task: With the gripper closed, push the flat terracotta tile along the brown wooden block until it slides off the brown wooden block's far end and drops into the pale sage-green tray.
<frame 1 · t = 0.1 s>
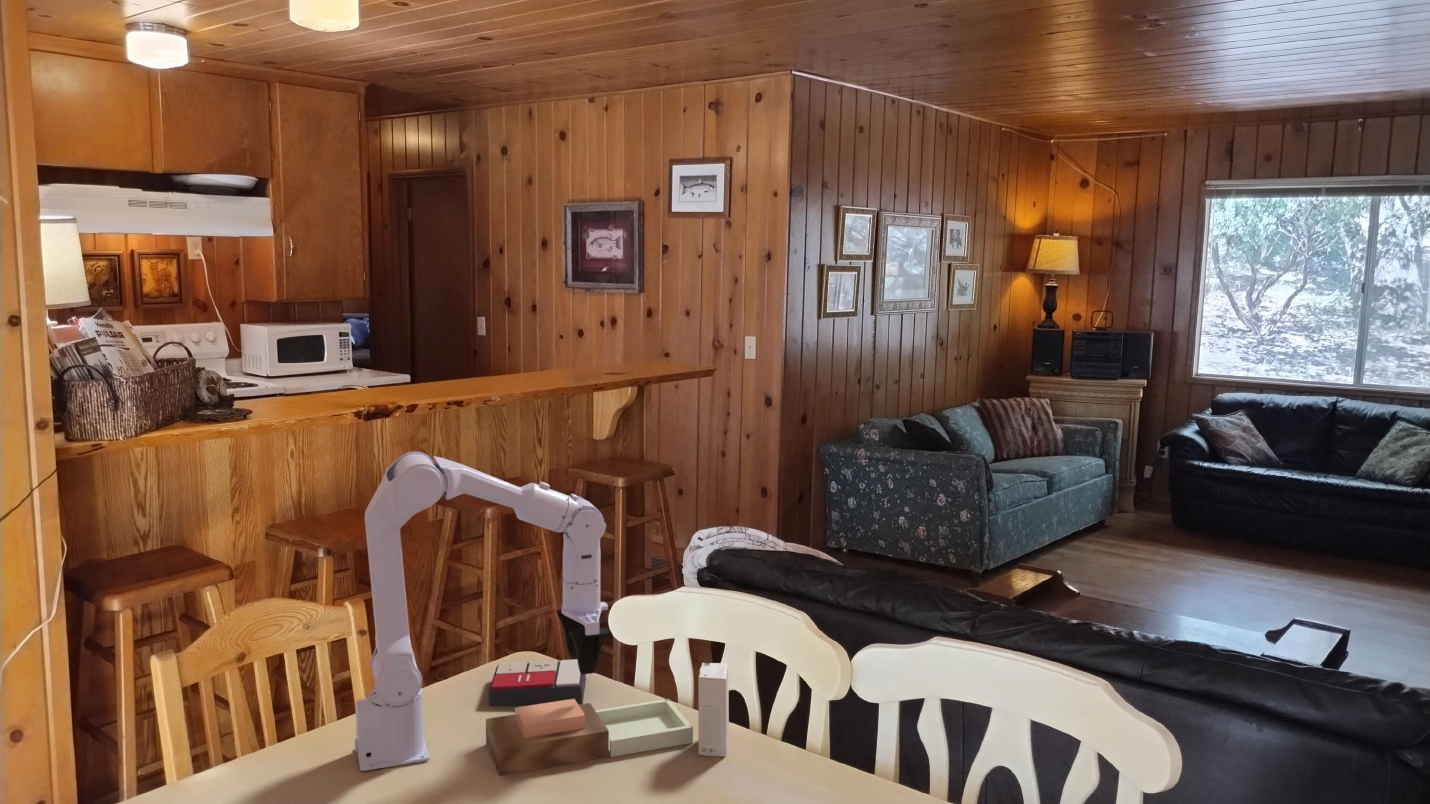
hand: (581, 663, 162), 10 cm above the table, tool pointing down, fingers open, 7 cm apart
brown wooden block: (546, 750, 155), on the table
tile: (549, 724, 155), point 4 cm above the table, touching brown wooden block
skincare box: (712, 747, 158), on the table
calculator: (538, 694, 176), on the table
tray: (638, 734, 161), on the table
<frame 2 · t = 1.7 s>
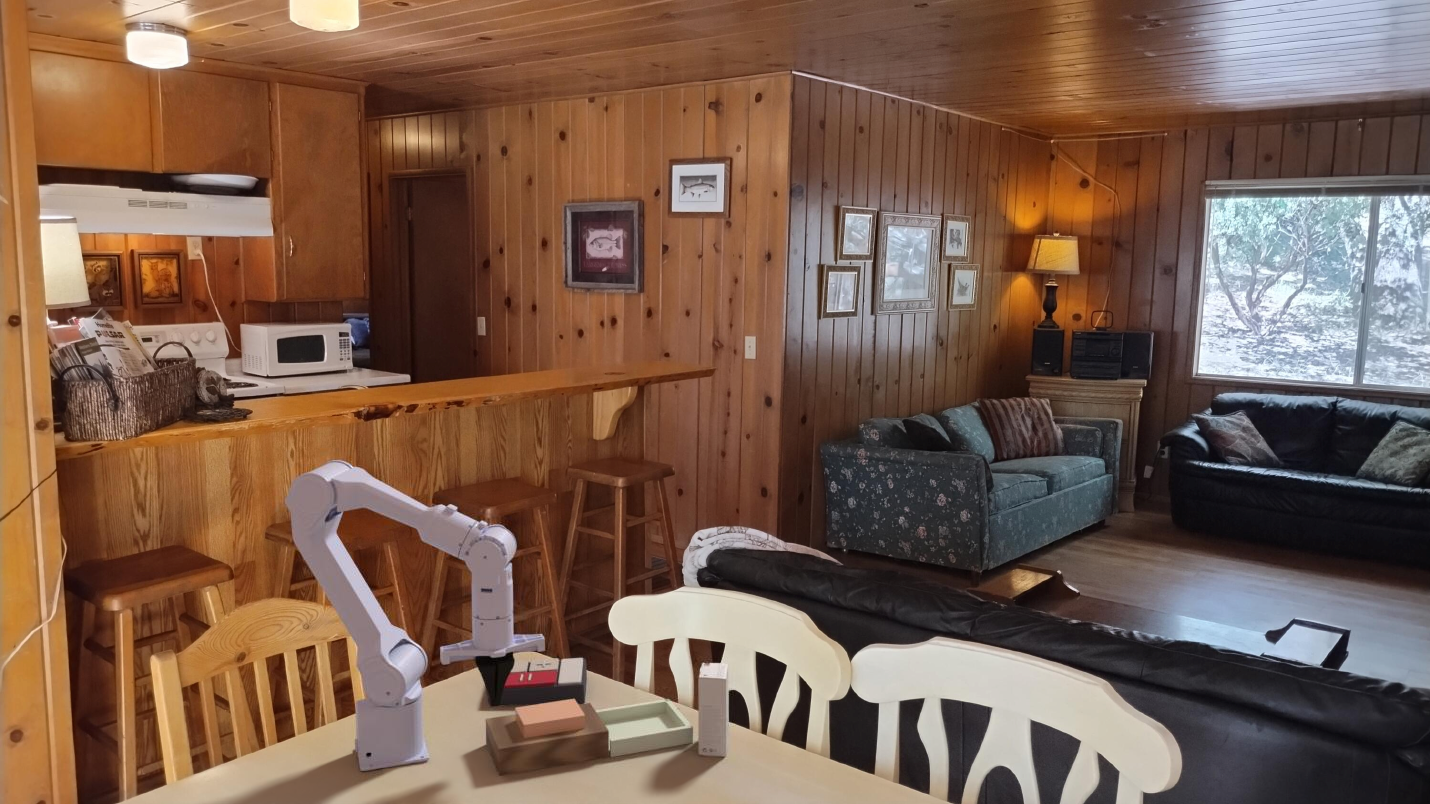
hand: (494, 703, 151), 9 cm above the table, tool pointing down, fingers closed
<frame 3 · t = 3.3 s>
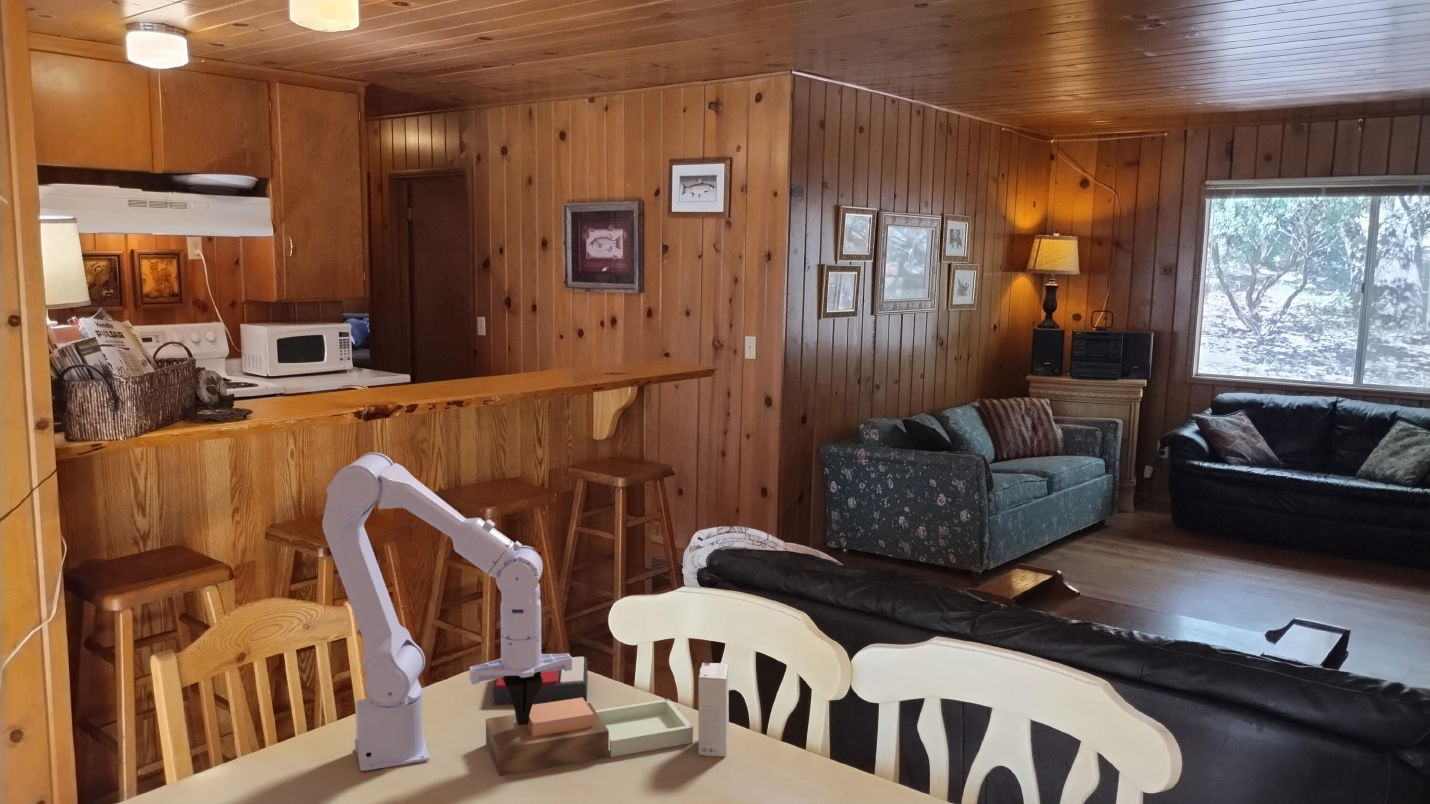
hand: (522, 721, 153), 5 cm above the table, tool pointing down, fingers closed
tile: (558, 722, 155), point 4 cm above the table, touching gripper
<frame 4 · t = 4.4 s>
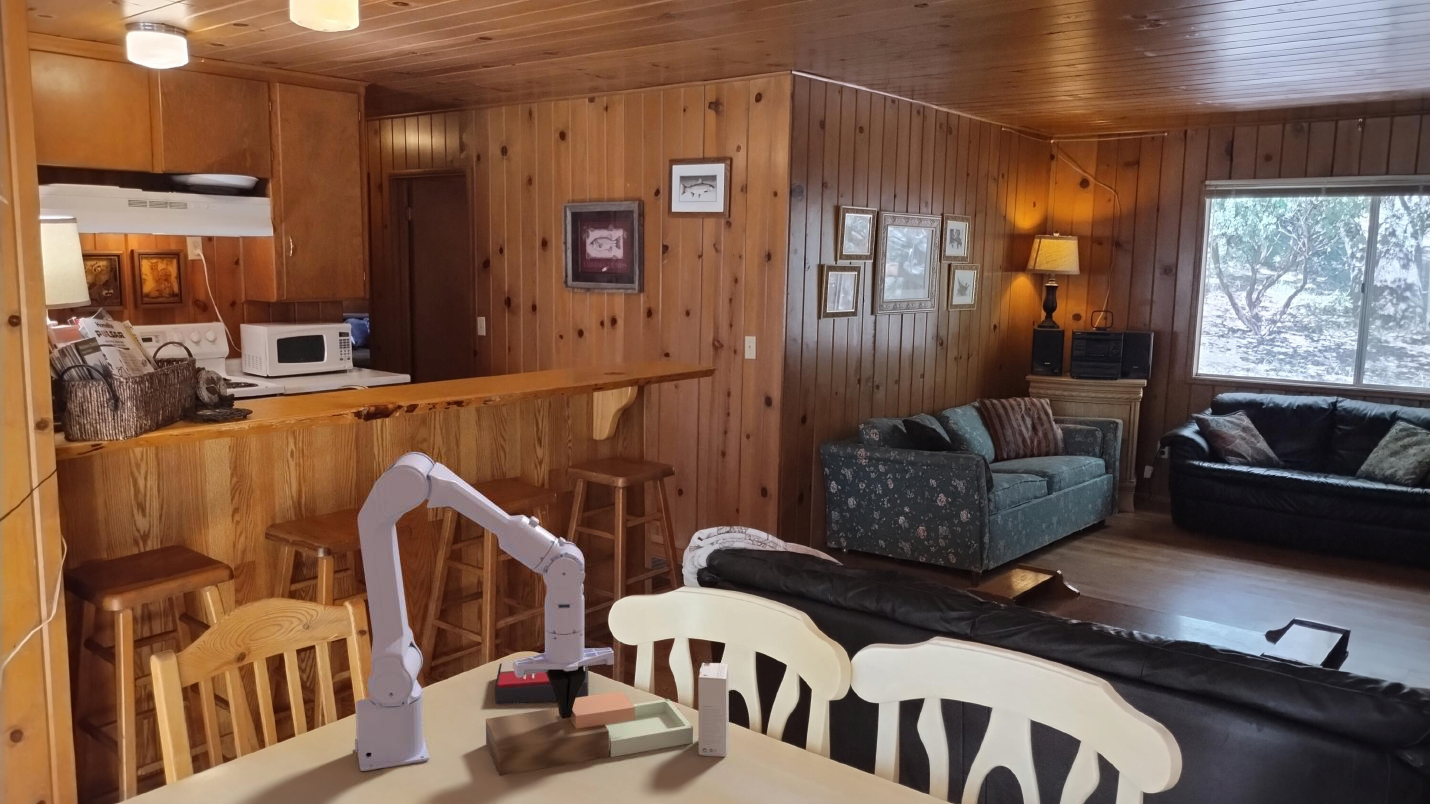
hand: (564, 715, 156), 5 cm above the table, tool pointing down, fingers closed
tile: (599, 715, 158), point 4 cm above the table, touching gripper
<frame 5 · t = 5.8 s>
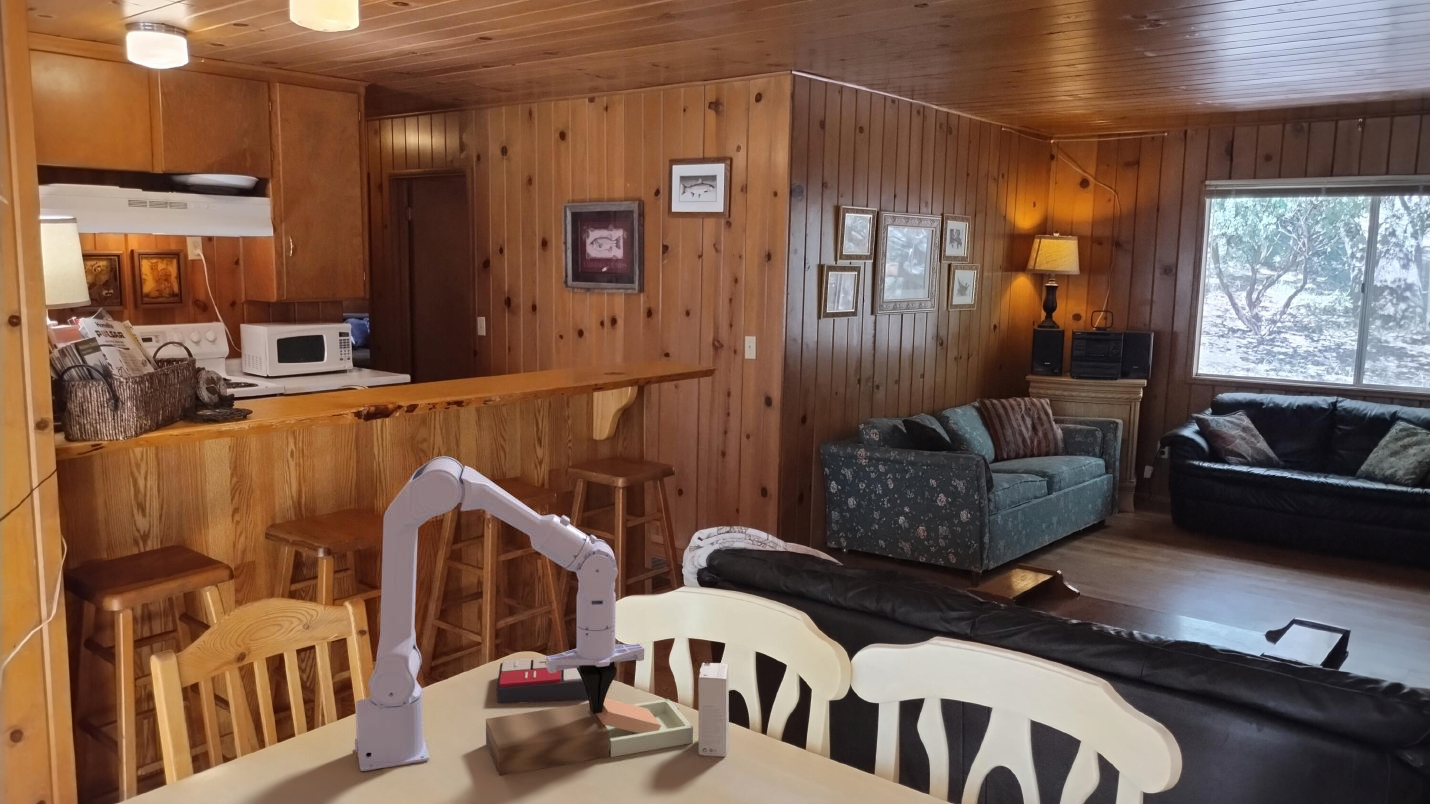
hand: (595, 710, 157), 5 cm above the table, tool pointing down, fingers closed
tile: (623, 722, 160), point 2 cm above the table, tilted 23°, touching brown wooden block, gripper, tray
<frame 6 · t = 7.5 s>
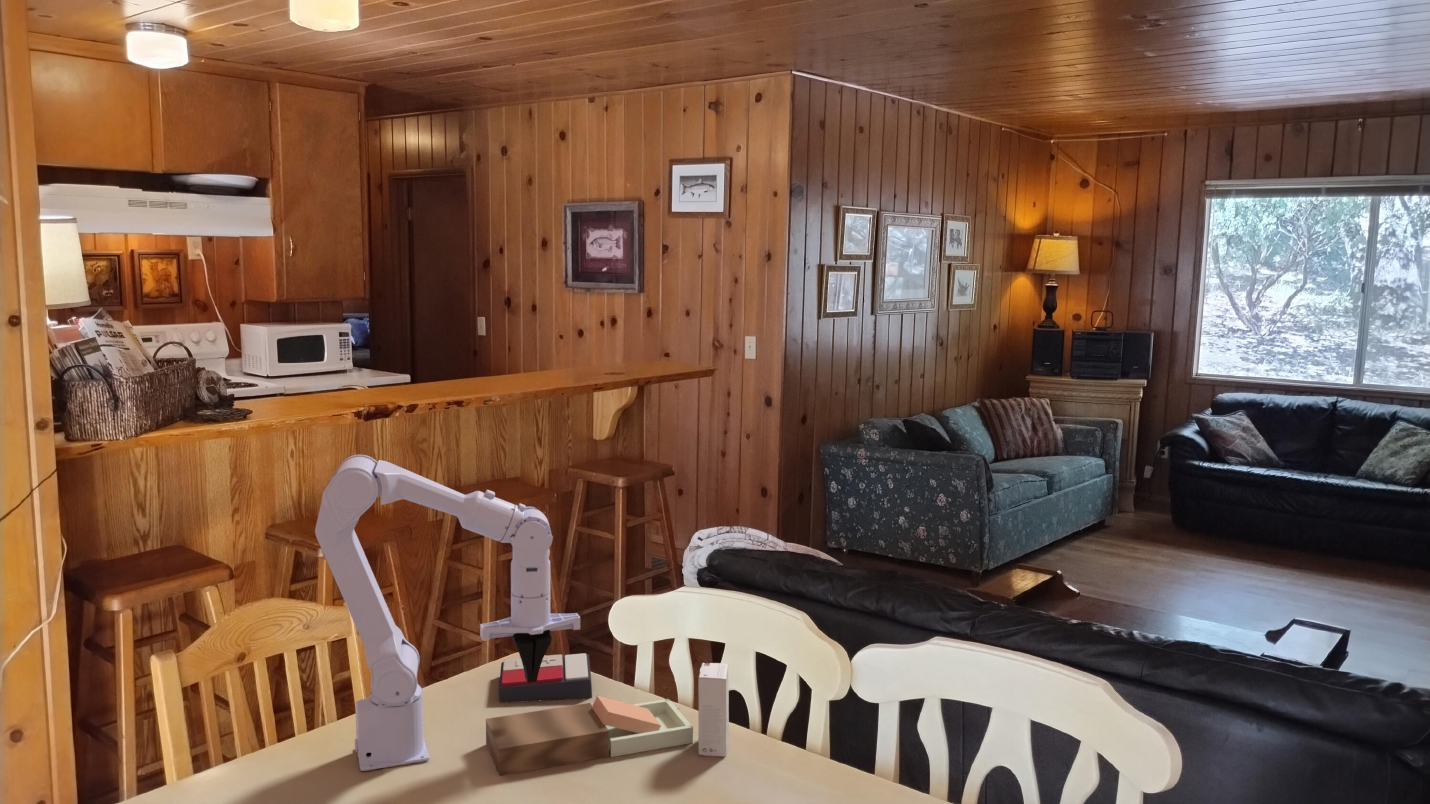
hand: (531, 679, 156), 10 cm above the table, tool pointing down, fingers closed
tile: (623, 722, 160), point 2 cm above the table, tilted 23°, touching brown wooden block, tray
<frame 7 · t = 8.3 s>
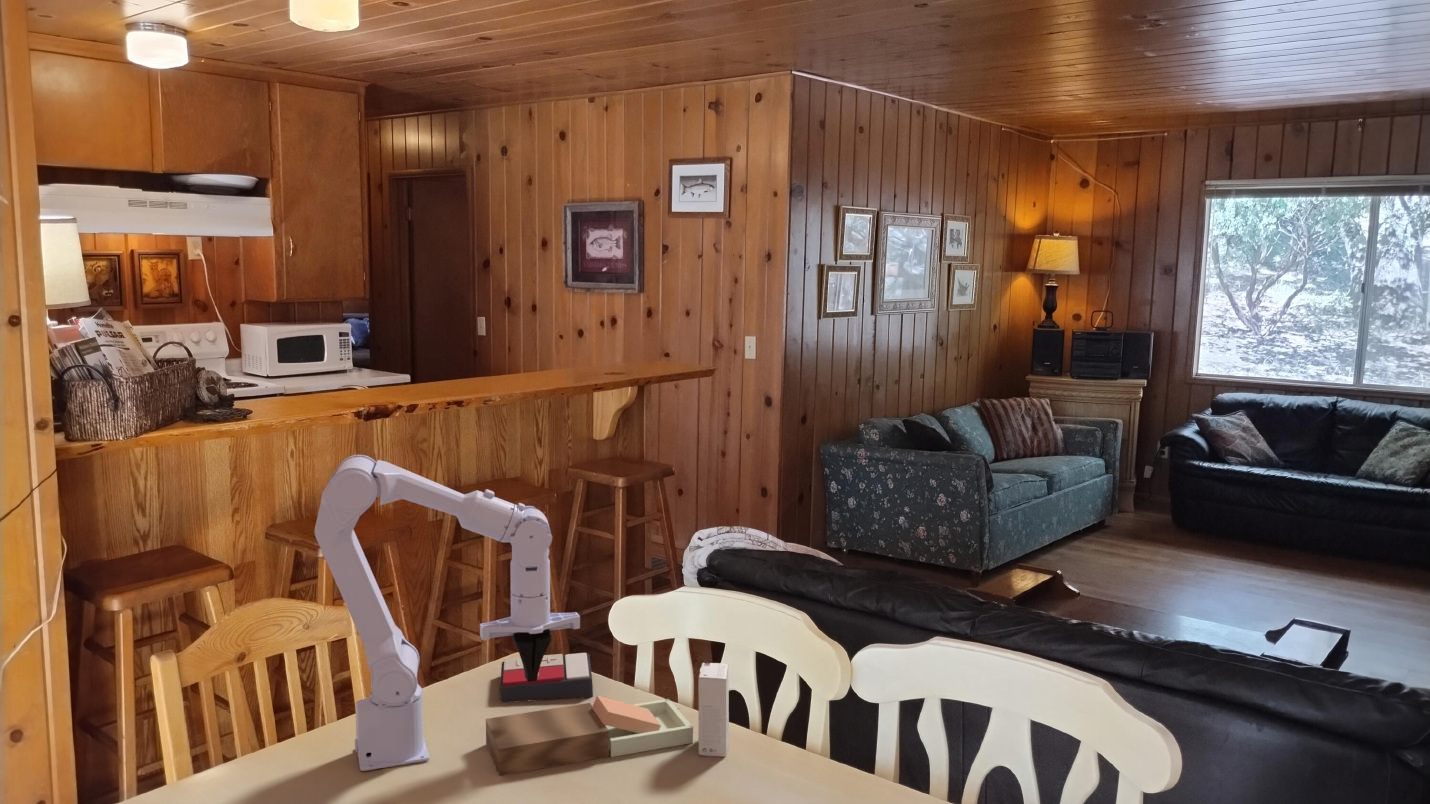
hand: (531, 678, 157), 10 cm above the table, tool pointing down, fingers closed
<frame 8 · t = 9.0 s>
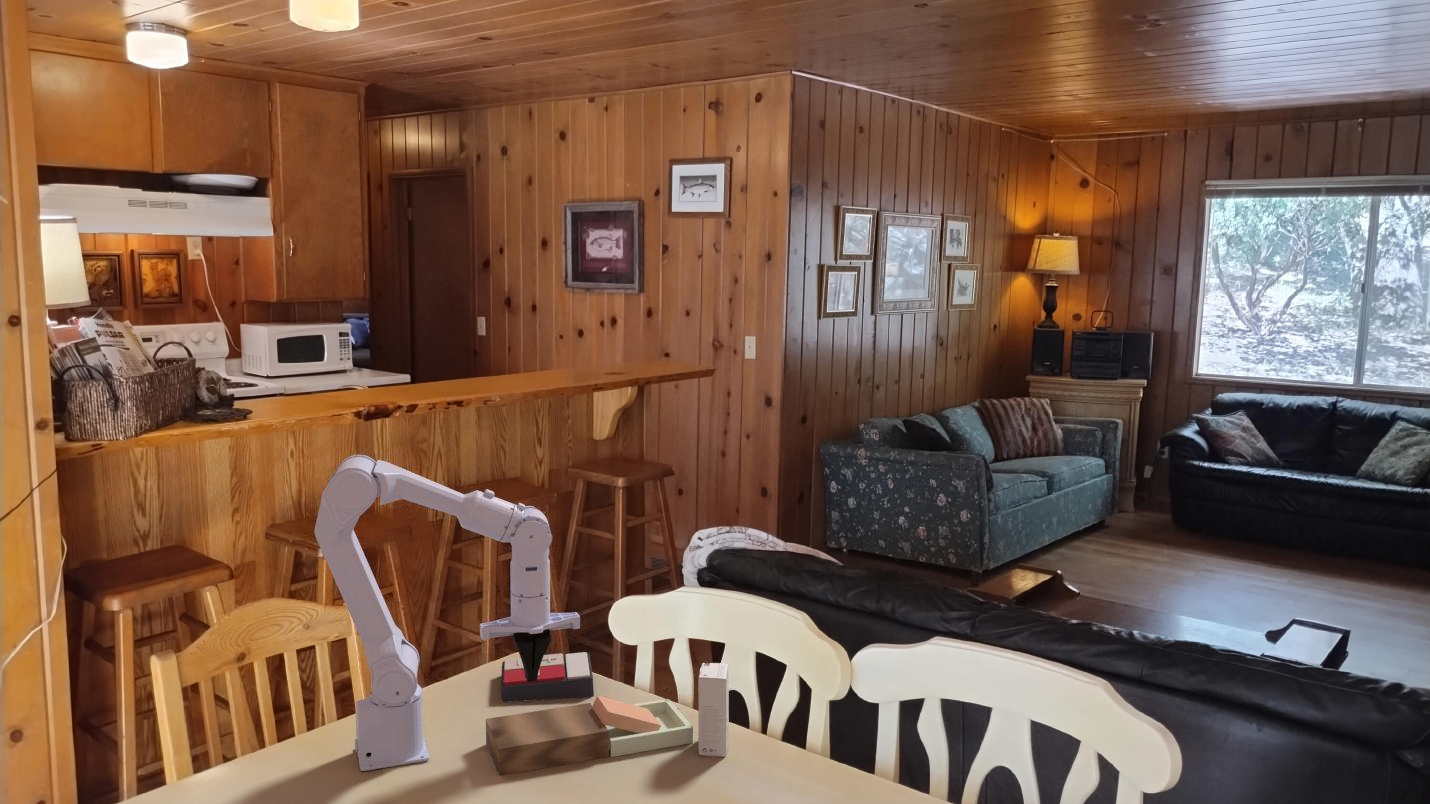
hand: (531, 678, 157), 10 cm above the table, tool pointing down, fingers closed
at the end: tile point 2.3 cm above the table; tile inside the target area on the tray (2.7 cm from its centre), point 2.3 cm above the tray's base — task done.
